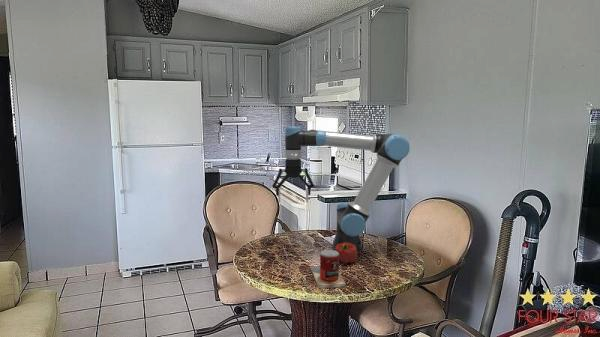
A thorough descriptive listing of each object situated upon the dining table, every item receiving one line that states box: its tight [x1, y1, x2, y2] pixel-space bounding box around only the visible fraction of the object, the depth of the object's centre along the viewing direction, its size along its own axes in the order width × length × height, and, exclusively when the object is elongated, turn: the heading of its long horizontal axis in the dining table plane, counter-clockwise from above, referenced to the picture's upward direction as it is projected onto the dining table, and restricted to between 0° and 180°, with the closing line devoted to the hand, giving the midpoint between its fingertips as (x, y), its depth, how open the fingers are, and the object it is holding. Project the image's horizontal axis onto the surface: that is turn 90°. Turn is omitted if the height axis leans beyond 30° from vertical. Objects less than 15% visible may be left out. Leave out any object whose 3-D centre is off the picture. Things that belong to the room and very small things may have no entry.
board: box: [309, 265, 347, 289], centre depth 180 cm, size 11×22×2 cm, turn 8°
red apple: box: [334, 242, 358, 265], centre depth 198 cm, size 11×10×10 cm
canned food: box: [319, 249, 340, 282], centre depth 174 cm, size 8×8×11 cm
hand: (293, 202), depth 206 cm, fingers open, 13 cm apart
